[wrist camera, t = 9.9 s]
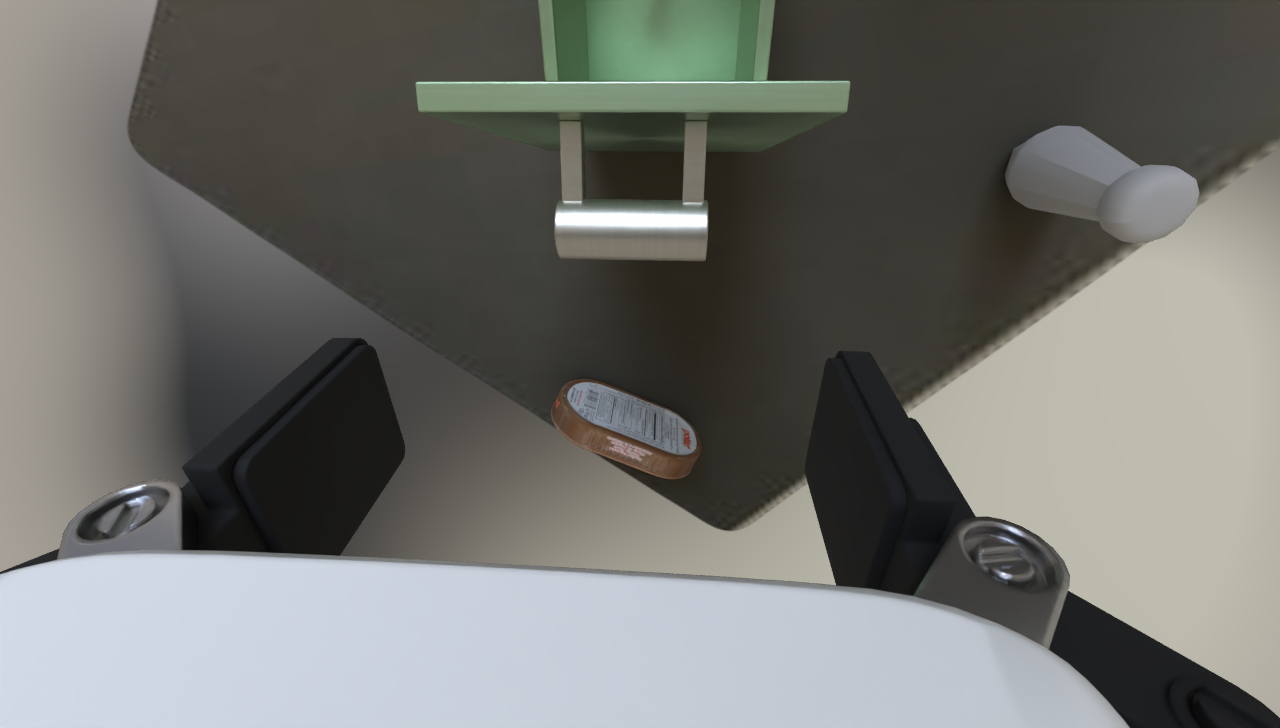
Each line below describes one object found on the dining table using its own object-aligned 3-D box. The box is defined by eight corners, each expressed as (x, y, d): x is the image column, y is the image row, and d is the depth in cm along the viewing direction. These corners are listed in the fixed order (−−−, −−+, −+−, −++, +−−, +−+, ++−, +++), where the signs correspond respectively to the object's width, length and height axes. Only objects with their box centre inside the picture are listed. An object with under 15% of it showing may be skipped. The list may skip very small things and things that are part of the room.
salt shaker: (1023, 111, 39) (1156, 142, 28) (1095, 131, 39) (1254, 170, 28) (978, 190, 42) (1081, 246, 31) (1044, 208, 43) (1170, 270, 32)
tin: (559, 386, 55) (540, 438, 48) (569, 362, 53) (551, 413, 46) (691, 437, 57) (692, 495, 50) (704, 416, 56) (707, 472, 49)
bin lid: (414, 81, 15) (434, 264, 17) (851, 80, 15) (828, 272, 16) (548, 135, 31) (551, 228, 32) (762, 136, 30) (755, 231, 32)
